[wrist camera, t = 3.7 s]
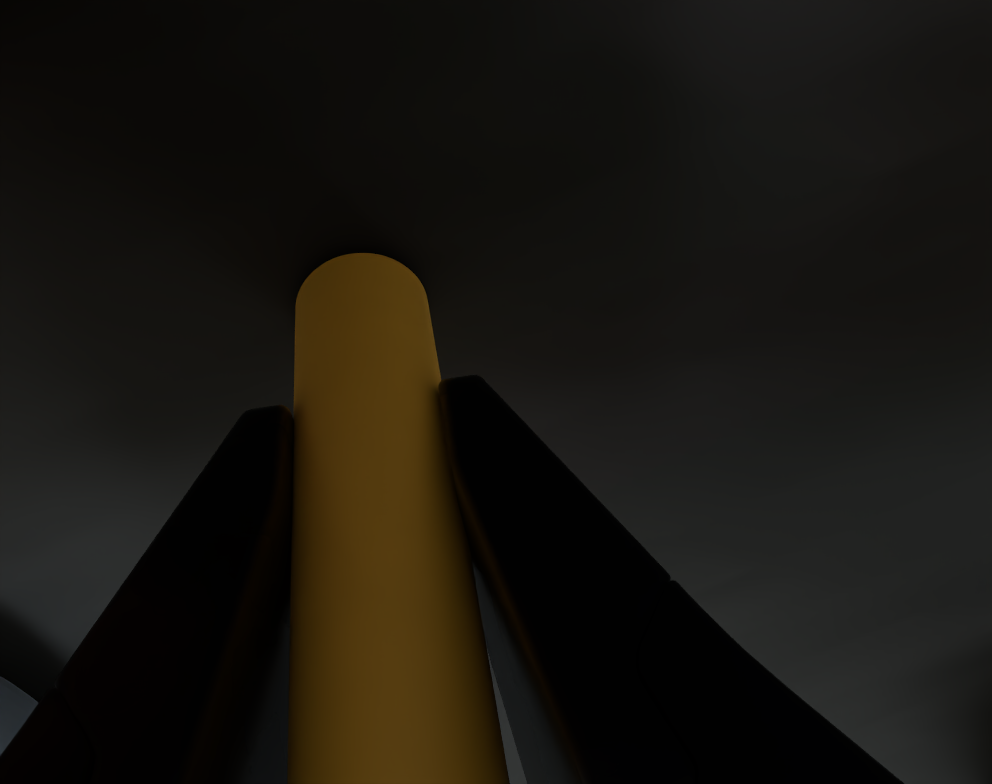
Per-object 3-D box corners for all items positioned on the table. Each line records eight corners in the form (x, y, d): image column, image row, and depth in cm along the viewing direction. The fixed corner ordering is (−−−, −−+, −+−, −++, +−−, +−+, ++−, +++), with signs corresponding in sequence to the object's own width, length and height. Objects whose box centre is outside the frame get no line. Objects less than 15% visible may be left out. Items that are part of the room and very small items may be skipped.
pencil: (420, 238, 10) (538, 902, 5) (437, 350, 11) (548, 1001, 6) (278, 259, 10) (248, 959, 5) (308, 370, 11) (309, 1049, 6)
